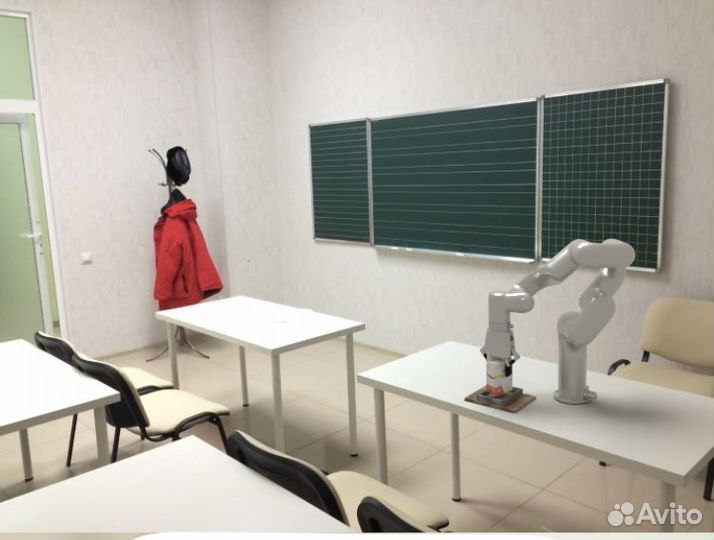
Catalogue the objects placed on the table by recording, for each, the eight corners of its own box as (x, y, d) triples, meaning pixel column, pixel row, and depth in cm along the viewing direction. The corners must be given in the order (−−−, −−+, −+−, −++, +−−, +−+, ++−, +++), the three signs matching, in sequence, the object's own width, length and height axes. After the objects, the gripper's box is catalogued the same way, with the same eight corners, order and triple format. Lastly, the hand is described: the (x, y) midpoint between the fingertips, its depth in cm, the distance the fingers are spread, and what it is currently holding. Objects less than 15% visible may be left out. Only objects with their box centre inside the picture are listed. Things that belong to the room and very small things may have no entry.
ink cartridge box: (495, 395, 217) (495, 356, 214) (486, 391, 221) (485, 352, 218) (513, 390, 221) (513, 351, 218) (503, 386, 225) (503, 348, 223)
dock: (535, 398, 221) (535, 390, 220) (514, 413, 209) (514, 405, 209) (486, 387, 234) (486, 379, 234) (464, 400, 222) (464, 392, 222)
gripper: (526, 326, 214) (526, 375, 217) (483, 319, 225) (483, 366, 228) (516, 331, 208) (516, 382, 211) (472, 324, 220) (473, 372, 223)
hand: (499, 373), depth 220 cm, fingers closed on ink cartridge box, 6 cm apart
